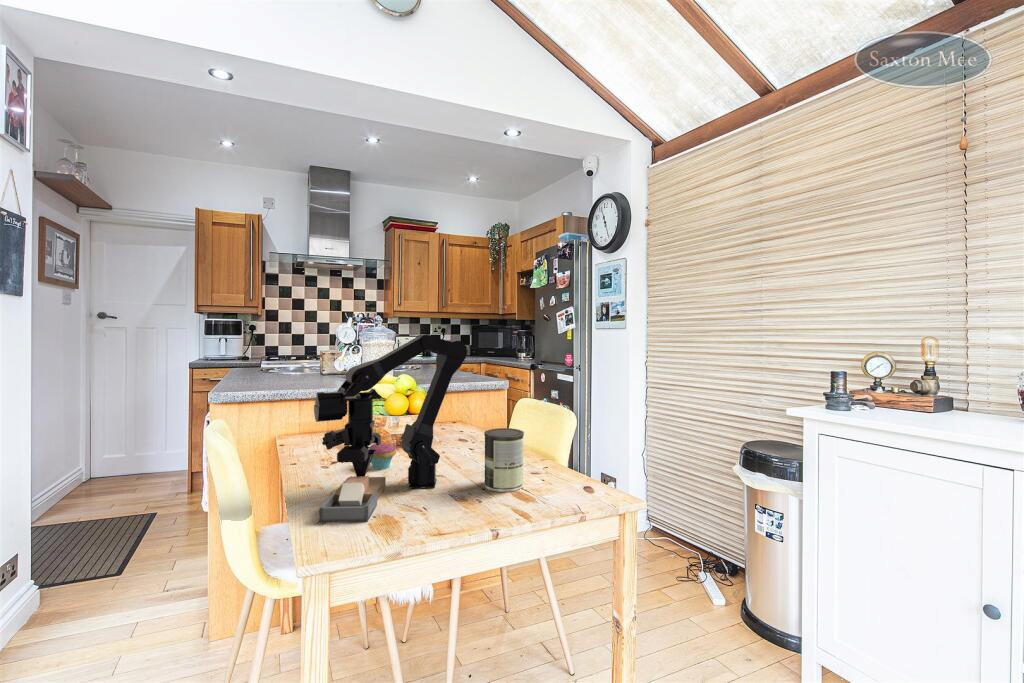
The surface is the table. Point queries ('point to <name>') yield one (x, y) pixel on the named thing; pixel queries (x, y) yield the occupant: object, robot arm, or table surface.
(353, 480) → the terracotta tile
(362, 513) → the tray
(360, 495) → the cream tile
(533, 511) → the table surface
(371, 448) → the cupcake
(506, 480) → the coffee can
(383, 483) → the walnut board
